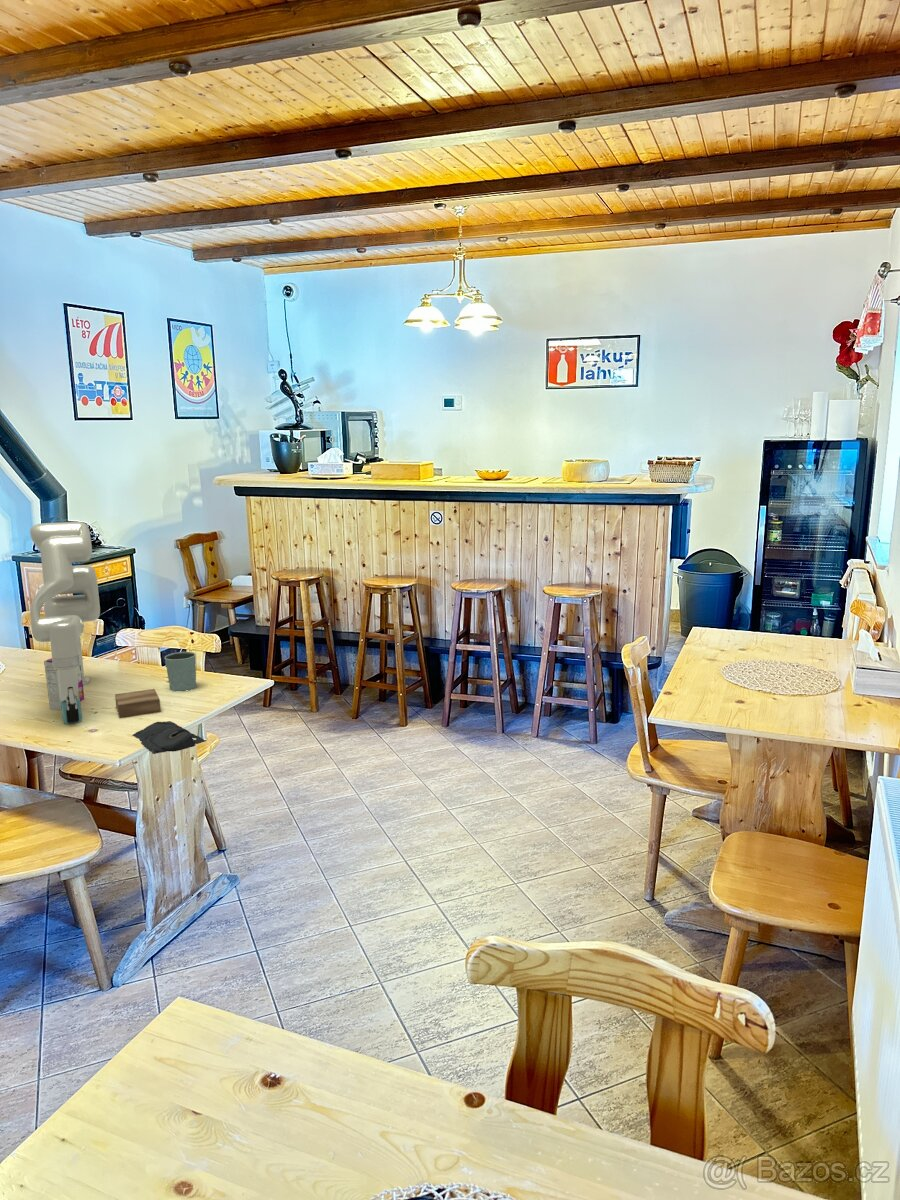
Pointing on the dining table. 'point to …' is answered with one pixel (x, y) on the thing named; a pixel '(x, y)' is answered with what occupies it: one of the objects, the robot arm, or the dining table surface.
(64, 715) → the teal block
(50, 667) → the candy bar box
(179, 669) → the grey green cup
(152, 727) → the dark slate chunk
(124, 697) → the walnut block
